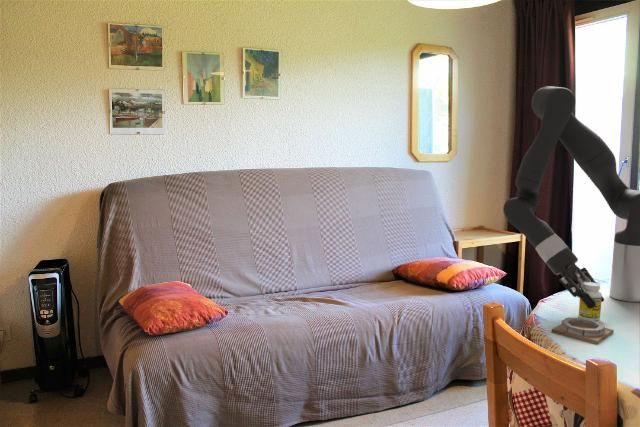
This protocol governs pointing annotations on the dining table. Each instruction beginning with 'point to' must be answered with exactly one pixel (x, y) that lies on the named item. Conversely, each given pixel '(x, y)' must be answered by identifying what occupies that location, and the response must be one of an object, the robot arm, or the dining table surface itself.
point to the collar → (583, 329)
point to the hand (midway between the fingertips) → (597, 304)
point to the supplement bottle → (597, 297)
